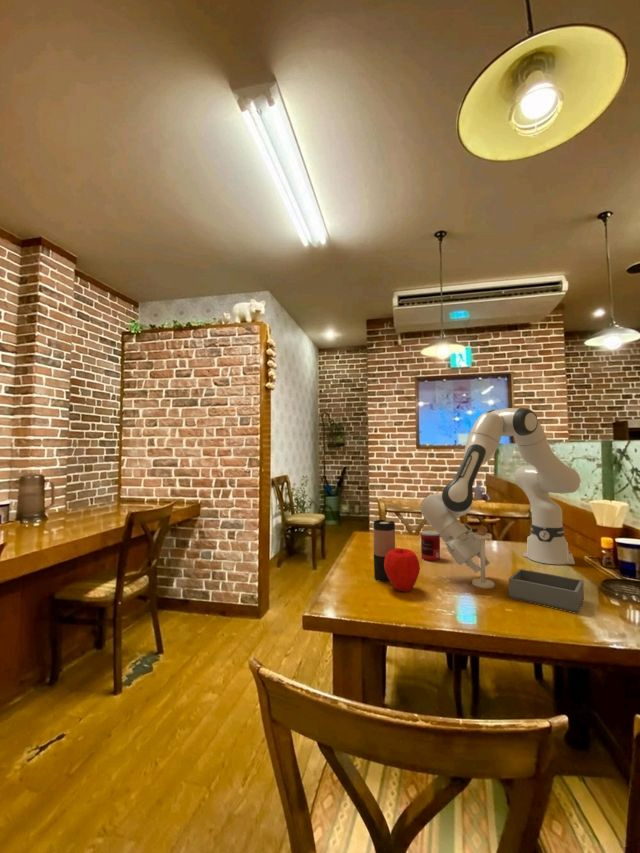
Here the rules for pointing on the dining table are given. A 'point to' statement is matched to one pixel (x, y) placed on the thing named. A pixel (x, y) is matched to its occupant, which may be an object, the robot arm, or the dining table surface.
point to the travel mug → (382, 546)
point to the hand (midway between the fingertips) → (483, 568)
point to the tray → (547, 590)
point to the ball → (482, 530)
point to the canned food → (430, 545)
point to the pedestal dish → (482, 563)
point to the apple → (402, 568)
